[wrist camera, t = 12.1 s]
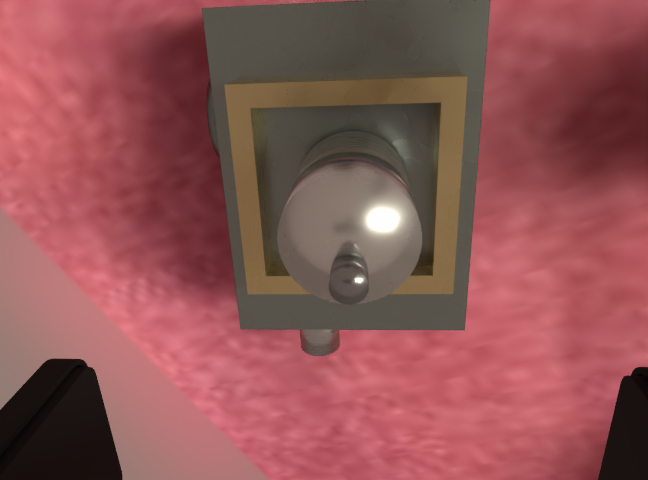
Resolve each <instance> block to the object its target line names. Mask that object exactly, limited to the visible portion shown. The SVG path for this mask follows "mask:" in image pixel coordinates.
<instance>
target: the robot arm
mask: <svg viewBox="0 0 648 480" xmlns="http://www.w3.org/2000/svg"><path fill="white" fill-rule="evenodd" d="M0 480H122V471H121V467H120V464H119V460H118V456H117V452H116V448H115V445H114V441H113V437H112V433H111V429H110V425H109V422H108V418H107V414H106V410H105V406H104V403H103V399H102V395H101V391H100V387H99V384H98V380H97V376H96V373H95V371H94V369H93V368H90V367H88V366H87V364H86V363H85V361H84V360H81V359H50V360H47V361H46V362H45V363H43V364H42V366H41V367H40V368H39V369H38V370H37V371H36V372H35V373H34V374H33V375H32V376H31V377H30V379H29V380H28V381H27V382H26V383H25V384H24V385H23V386H22V387H21V388H20V389H19V391H17V393H16V394H15V395H14V396H13V397H12V398H11V399H10V400H9V401H8V402H7V403H6V404H5V405H4V407H3V408H2V409H1V410H0ZM598 480H648V367H638V368H635V369H634V370H633V372H632V374H631V376H624V378H623V379H622V381H621V384H620V389H619V393H618V397H617V402H616V406H615V410H614V414H613V419H612V423H611V427H610V431H609V436H608V440H607V444H606V448H605V453H604V457H603V461H602V465H601V470H600V474H599V478H598Z"/></svg>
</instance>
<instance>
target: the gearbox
mask: <svg viewBox="0 0 648 480" xmlns="http://www.w3.org/2000/svg"><path fill="white" fill-rule="evenodd" d="M489 12H490V0H363V1H342V2H320V3H299V4H277V5H256V6H234V7H213V8H202V14H203V22H204V30H205V39H206V47H207V55H208V63H209V72H210V80H209V84H208V91H207V117H208V125H209V132H210V137H211V141H212V144H213V147H214V150H215V152H216V154H217V155H218V157H219V158H220V162H221V171H222V179H223V187H224V195H225V204H226V212H227V220H228V228H229V237H230V245H231V253H232V261H233V270H234V278H235V286H236V295H237V303H238V311H239V319H240V328H241V329H300V341H301V348H302V350H303V351H304V352H306V353H307V354H310V355H314V356H324V355H328V354H331V353H333V352H335V351H336V350H337V349H338V348H339V346H340V335H339V330H465V320H466V308H467V295H468V282H469V269H470V256H471V243H472V231H473V218H474V205H475V192H476V179H477V166H478V154H479V141H480V128H481V115H482V102H483V89H484V77H485V64H486V51H487V38H488V25H489ZM348 131H357V132H364V133H368V134H371V135H374V136H376V137H378V138H380V139H382V140H383V141H385V142H386V143H388V144H389V145H390V146H391V147H392V148H393V149H394V150H395V151H396V152H397V154H398V155H399V157H400V158H401V160H402V162H403V165H404V167H405V171H406V174H407V178H408V181H409V185H410V188H411V191H412V194H413V197H414V201H415V204H416V208H417V211H418V216H419V221H420V224H421V230H422V247H421V253H420V256H419V259H418V262H417V264H416V266H415V268H414V270H413V271H412V273H411V275H410V276H409V277H408V278H407V280H406V281H405V282H404V283H403V284H402V285H401V286H400V287H398V288H397V289H396V290H394V291H393V292H391V293H390V294H388V295H386V296H384V297H382V298H380V299H377V300H374V301H371V302H367V303H361V304H352V305H346V304H340V303H334V302H330V301H327V300H323V299H321V298H319V297H316V296H314V295H313V294H311V293H309V292H308V291H306V290H305V289H303V288H302V287H301V286H300V285H299V284H298V283H297V282H296V281H295V280H294V279H293V278H292V277H291V276H290V274H289V273H288V271H287V270H286V268H285V266H284V264H283V262H282V260H281V257H280V253H279V249H278V242H277V233H278V226H279V222H280V218H281V215H282V213H283V210H284V206H285V203H286V201H287V198H288V196H289V193H290V191H291V189H292V187H293V184H294V182H295V179H296V177H297V174H298V172H299V169H300V167H301V164H302V162H303V160H304V158H305V157H306V155H307V154H308V152H309V151H310V150H311V149H312V148H313V147H314V146H315V145H316V144H317V143H319V142H320V141H321V140H323V139H325V138H327V137H329V136H331V135H334V134H336V133H341V132H348Z"/></svg>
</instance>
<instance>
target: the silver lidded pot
mask: <svg viewBox="0 0 648 480" xmlns="http://www.w3.org/2000/svg"><path fill="white" fill-rule="evenodd" d="M277 242H278V249H279V253H280V257H281V260H282V262H283V264H284V266H285V268H286V270H287V271H288V273H289V274H290V276H291V277H292V278H293V279H294V280H295V281H296V282H297V283H298V284H299V285H300V286H301V287H302V288H303V289H305V290H306V291H308V292H309V293H311V294H313V295H314V296H316V297H319V298H321V299H323V300H327V301H330V302H334V303H340V304H346V305H352V304H361V303H367V302H371V301H374V300H377V299H380V298H382V297H384V296H386V295H388V294H390V293H391V292H393V291H394V290H396V289H397V288H398V287H400V286H401V285H402V284H403V283H404V282H405V281H406V280H407V278H408V277H409V276H410V275H411V273H412V271H413V270H414V268H415V266H416V264H417V262H418V259H419V256H420V253H421V247H422V230H421V224H420V221H419V216H418V211H417V208H416V204H415V201H414V197H413V194H412V191H411V188H410V185H409V181H408V178H407V174H406V171H405V167H404V165H403V162H402V160H401V158H400V157H399V155H398V154H397V152H396V151H395V150H394V149H393V148H392V147H391V146H390V145H389V144H388V143H386V142H385V141H383V140H382V139H380V138H378V137H376V136H374V135H371V134H368V133H364V132H357V131H348V132H341V133H336V134H334V135H331V136H329V137H327V138H325V139H323V140H321V141H320V142H319V143H317V144H316V145H315V146H314V147H313V148H312V149H311V150H310V151H309V152H308V154H307V155H306V157H305V158H304V160H303V162H302V164H301V167H300V169H299V172H298V174H297V177H296V179H295V182H294V184H293V187H292V189H291V191H290V193H289V196H288V198H287V201H286V203H285V206H284V210H283V213H282V215H281V218H280V222H279V226H278V233H277Z"/></svg>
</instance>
